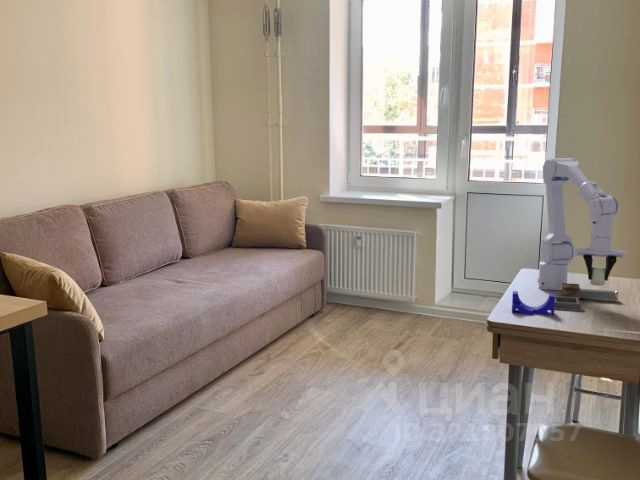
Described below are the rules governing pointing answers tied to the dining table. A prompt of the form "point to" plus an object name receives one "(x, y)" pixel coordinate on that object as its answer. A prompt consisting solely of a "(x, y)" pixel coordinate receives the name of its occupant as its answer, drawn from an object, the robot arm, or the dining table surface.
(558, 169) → the robot arm
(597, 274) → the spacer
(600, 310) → the dining table surface
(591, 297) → the shaft
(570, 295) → the brown wooden block
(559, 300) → the cradle
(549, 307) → the blue semicircular bracket
